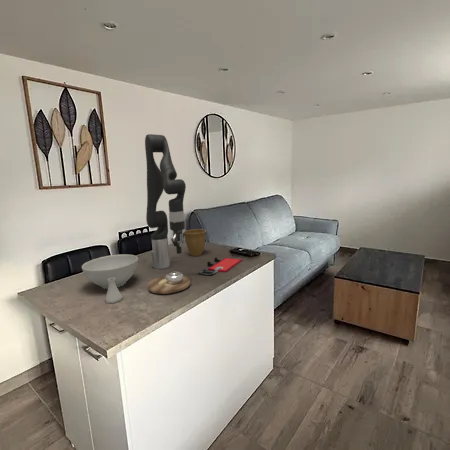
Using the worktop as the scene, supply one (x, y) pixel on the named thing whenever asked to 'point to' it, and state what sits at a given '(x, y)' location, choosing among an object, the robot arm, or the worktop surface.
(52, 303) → the worktop surface
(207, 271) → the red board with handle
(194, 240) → the plant pot
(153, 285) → the turntable
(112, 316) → the worktop surface
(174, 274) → the cover
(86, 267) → the decorative bowl
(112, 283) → the flask
